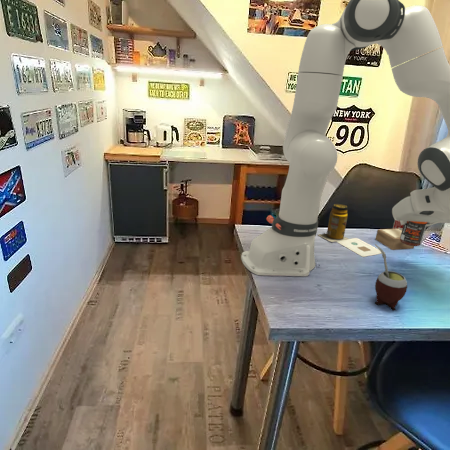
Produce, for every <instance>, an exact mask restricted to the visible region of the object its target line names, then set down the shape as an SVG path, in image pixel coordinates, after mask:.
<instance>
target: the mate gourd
mask: <svg viewBox="0 0 450 450" xmlns="http://www.w3.org/2000/svg"><path fill="white" fill-rule="evenodd" d="M374 245H375V246H376V247H375V248H377V249H379V250H380V251H381V253H382V254H381V257H382V259H383V263H384V271H383V272H381V273H380V274H378V275H377V276H378V277H377V278H376V281H375V285H374V289H375V292H376V295H375V296H376V301H375V302H374V305H376V306H384V305H385V306H386V307H388V308H389V309H390V310H391V311H393V312H394V311H396V306H397V304H399V302H400V301H401V300H403V298H404V297H405V295H406V292H407V291H408V290H407V289H408V282H407V279H406V277H405V275H403V274H401V273H399V272H397V271H393V270H389V269H388V264H387V256H386V252H385V251H384V250H383V249H382V248H381V247H380V246H379V245H377V243H375V244H374ZM384 252H385V253H384Z"/></svg>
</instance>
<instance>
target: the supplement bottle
mask: <svg viewBox="0 0 450 450" xmlns="http://www.w3.org/2000/svg"><path fill="white" fill-rule="evenodd" d="M426 225H427V222H416V221H409V224H407V225H404V226H403V229H402V233H401V236H400V241H401V242H402V243H404V244H406V245H409V246H414V247H419V246H421V245H422V241H423V238H424V236H425V235H424V234H425V232H426V228H427V226H426Z"/></svg>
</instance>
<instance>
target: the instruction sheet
mask: <svg viewBox="0 0 450 450" xmlns="http://www.w3.org/2000/svg"><path fill="white" fill-rule="evenodd" d="M335 243H337V244H339V245H341V246H342V247H345V248H346V249H348V250H350V251H351V252H353V253H355V254H356V255H358V256H359V257H362V258H365V257H366V258H367V257H370V256H375V255H382V253H381V251H380V250H379V249H378V248H377V247H375V246H373V245H371V244H369V243H368V242H365V241H363V240H362V239H360V238H358V237H353V238H349V239H346V240H341V241H335ZM384 253H385V254H386V252H385V251H384Z"/></svg>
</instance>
